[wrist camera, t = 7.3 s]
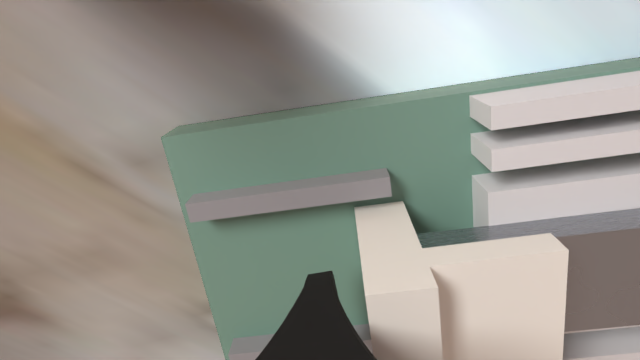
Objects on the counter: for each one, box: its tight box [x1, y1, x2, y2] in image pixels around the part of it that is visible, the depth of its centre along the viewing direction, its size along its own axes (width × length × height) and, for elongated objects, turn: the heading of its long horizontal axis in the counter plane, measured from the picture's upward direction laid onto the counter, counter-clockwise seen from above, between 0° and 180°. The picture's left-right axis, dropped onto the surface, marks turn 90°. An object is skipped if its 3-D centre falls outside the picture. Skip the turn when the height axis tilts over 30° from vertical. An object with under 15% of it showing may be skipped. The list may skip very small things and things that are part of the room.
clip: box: [354, 201, 569, 360], centre depth 11 cm, size 4×4×4 cm
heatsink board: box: [161, 57, 640, 360], centre depth 13 cm, size 20×10×4 cm, turn 99°
